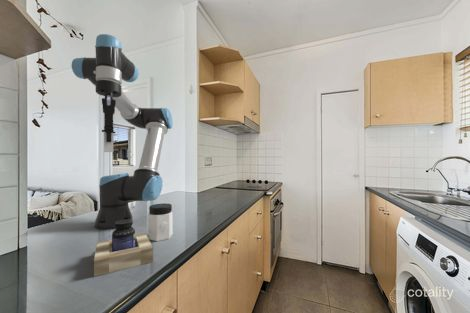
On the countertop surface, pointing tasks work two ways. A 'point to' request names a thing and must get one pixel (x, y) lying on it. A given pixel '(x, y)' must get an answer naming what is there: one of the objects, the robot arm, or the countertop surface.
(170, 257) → the countertop surface
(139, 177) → the robot arm
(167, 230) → the jar
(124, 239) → the pill bottle
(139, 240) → the jig
